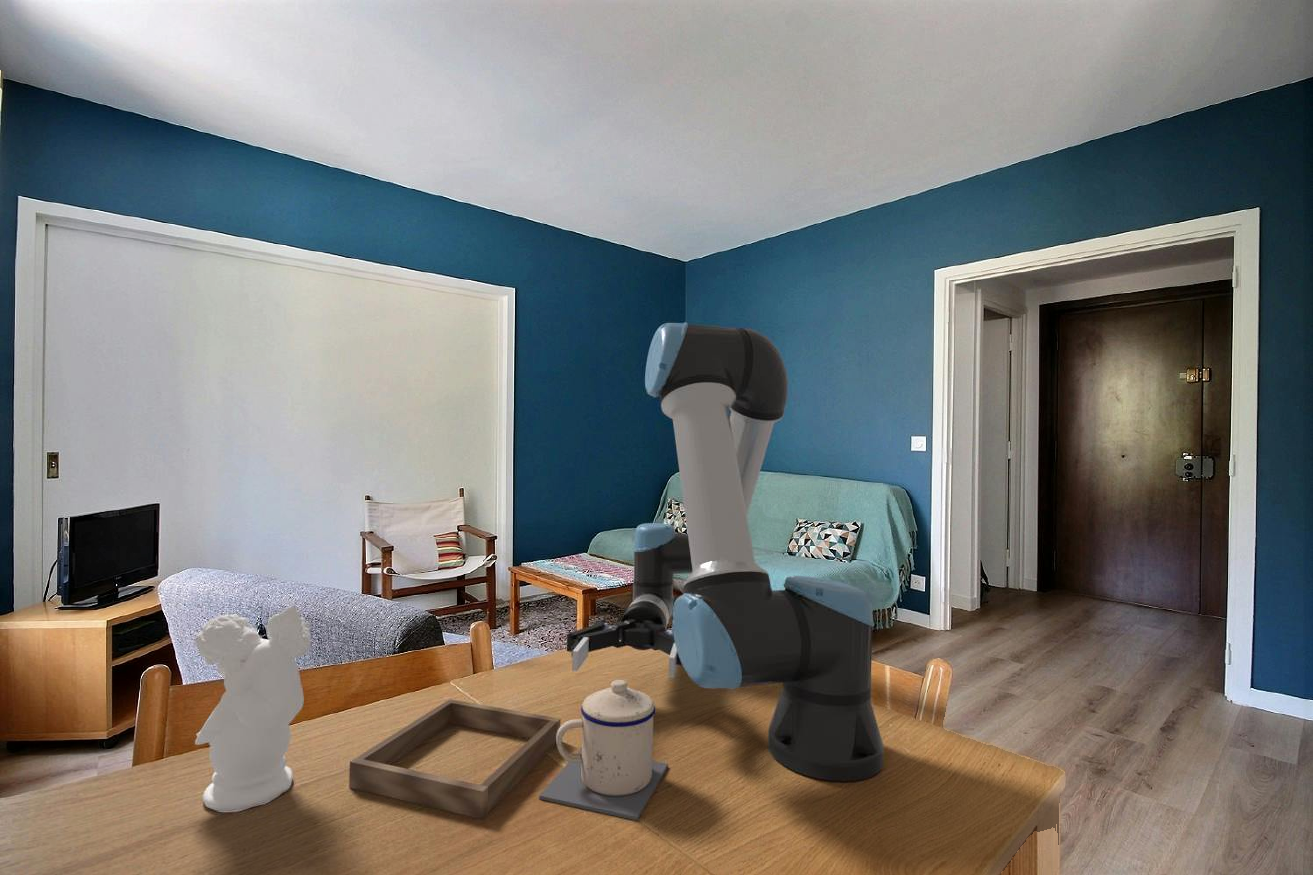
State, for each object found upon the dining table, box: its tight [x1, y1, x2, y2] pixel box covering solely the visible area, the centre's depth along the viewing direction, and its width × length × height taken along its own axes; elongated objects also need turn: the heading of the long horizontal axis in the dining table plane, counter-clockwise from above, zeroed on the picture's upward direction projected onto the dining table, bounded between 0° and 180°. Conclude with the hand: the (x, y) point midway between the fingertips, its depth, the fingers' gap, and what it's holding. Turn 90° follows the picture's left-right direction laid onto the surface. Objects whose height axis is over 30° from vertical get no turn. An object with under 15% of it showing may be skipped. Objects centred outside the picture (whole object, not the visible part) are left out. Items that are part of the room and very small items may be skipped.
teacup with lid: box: [556, 679, 656, 796], centre depth 75 cm, size 12×9×12 cm
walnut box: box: [348, 698, 561, 820], centre depth 79 cm, size 18×19×3 cm
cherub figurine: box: [194, 603, 312, 813], centre depth 73 cm, size 12×12×22 cm
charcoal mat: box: [538, 747, 669, 821], centre depth 75 cm, size 12×12×1 cm
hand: (622, 664), depth 85 cm, fingers open, 13 cm apart
